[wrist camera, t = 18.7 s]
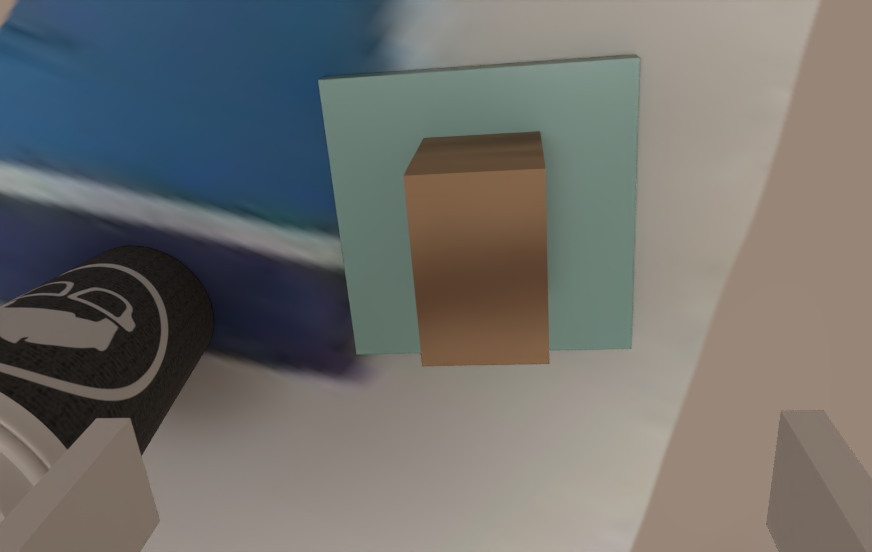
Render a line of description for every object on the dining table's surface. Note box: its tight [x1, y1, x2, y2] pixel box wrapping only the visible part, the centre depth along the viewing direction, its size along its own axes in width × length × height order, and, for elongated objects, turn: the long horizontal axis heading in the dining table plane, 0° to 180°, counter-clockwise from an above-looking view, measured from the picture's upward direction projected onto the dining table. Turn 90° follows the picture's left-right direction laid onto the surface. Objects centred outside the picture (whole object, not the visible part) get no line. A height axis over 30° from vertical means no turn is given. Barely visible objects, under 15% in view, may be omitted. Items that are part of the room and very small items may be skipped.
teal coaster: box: [318, 55, 640, 354], centre depth 30 cm, size 12×12×1 cm
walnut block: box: [403, 131, 549, 366], centre depth 27 cm, size 7×4×6 cm, turn 4°
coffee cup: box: [0, 246, 214, 523], centre depth 27 cm, size 10×10×15 cm
